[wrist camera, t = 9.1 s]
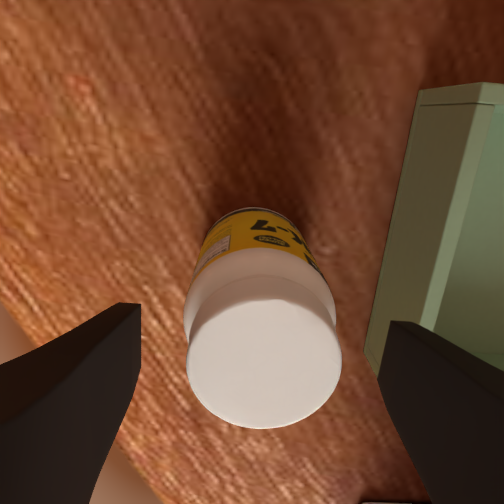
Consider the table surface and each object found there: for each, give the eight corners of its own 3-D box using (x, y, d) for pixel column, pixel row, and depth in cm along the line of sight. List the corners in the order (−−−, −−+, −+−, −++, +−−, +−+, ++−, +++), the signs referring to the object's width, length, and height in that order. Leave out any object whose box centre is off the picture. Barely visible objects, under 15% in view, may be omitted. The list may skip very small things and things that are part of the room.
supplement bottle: (327, 250, 18) (398, 359, 10) (259, 321, 19) (274, 471, 11) (246, 181, 17) (254, 243, 9) (179, 261, 18) (131, 380, 10)
